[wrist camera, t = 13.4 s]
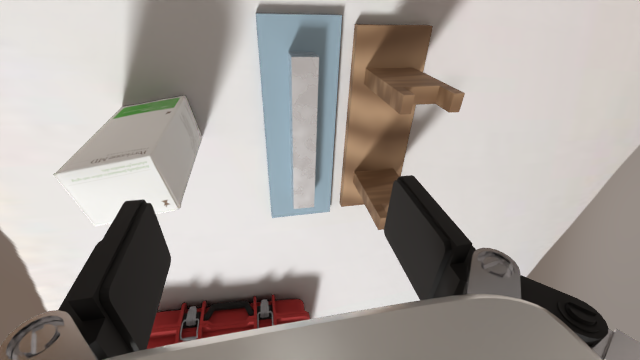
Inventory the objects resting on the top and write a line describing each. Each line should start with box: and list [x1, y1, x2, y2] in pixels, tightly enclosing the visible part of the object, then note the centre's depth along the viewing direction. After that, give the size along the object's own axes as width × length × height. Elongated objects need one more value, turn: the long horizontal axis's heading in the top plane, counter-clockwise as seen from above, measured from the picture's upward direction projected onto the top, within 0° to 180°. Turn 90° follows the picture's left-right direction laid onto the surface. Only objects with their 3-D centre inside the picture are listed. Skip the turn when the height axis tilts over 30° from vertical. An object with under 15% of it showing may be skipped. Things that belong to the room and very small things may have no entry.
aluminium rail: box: [288, 52, 319, 209], centre depth 41 cm, size 22×3×3 cm, turn 178°
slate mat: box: [256, 13, 342, 218], centre depth 42 cm, size 30×10×1 cm, turn 178°
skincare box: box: [53, 96, 202, 227], centre depth 32 cm, size 8×7×16 cm
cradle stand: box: [340, 24, 465, 230], centre depth 40 cm, size 28×10×13 cm, turn 178°
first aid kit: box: [147, 295, 310, 349], centre depth 62 cm, size 32×23×9 cm
